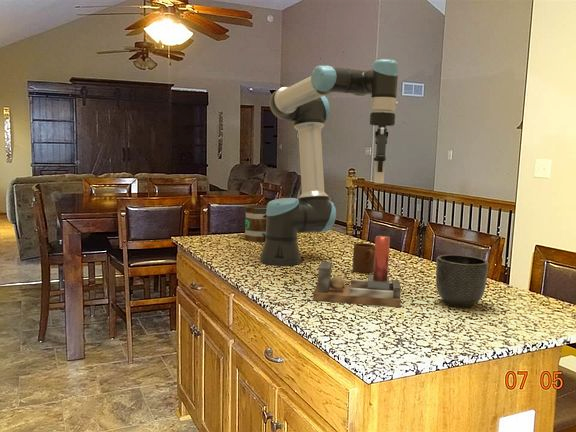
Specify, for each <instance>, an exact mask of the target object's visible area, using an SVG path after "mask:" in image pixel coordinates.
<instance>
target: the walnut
mask: <svg viewBox="0 0 576 432" xmlns="http://www.w3.org/2000/svg"><path fill="white" fill-rule="evenodd" d="M330 285H331V287H332V288H333V289H341V288H342V287H343V285H345V281H344V279H343V278H342V277H341V276H339V275H335V276H333V277H331V280H330Z"/></svg>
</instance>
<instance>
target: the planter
mask: <svg viewBox="0 0 576 432" xmlns="http://www.w3.org/2000/svg"><path fill="white" fill-rule="evenodd" d="M435 266H436V268H435V270H436V271H435V285H436V291H437V294H438V296H439V297H440V298H441V299H442V300H443V302H444V303H445V305H448V306H452V307H456V308H463V309H465V308H472V307H474V305H476V303H478V302H480V301H481V299H482V298H483V296H484V294H485V290H486V285H487V279H488V272H489V261H488V260H487V259H484V258H480V257H476V256H471V255H465V254H441V255H438V256H437V257H436V263H435Z"/></svg>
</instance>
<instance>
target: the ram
mask: <svg viewBox="0 0 576 432" xmlns="http://www.w3.org/2000/svg"><path fill="white" fill-rule="evenodd" d="M374 241H375V242H374V243H375V244H374V245H375V256H374V272H373V273H372V274H367V280H368V283H367V289H375V290H388V291H389V284H390V282H391V281H390V278H389V277H390V276H388V274H389V272H388V271H389V260H390V259H389V258H390V243H391V237H390V236H385V235H376V236H375V240H374Z"/></svg>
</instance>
